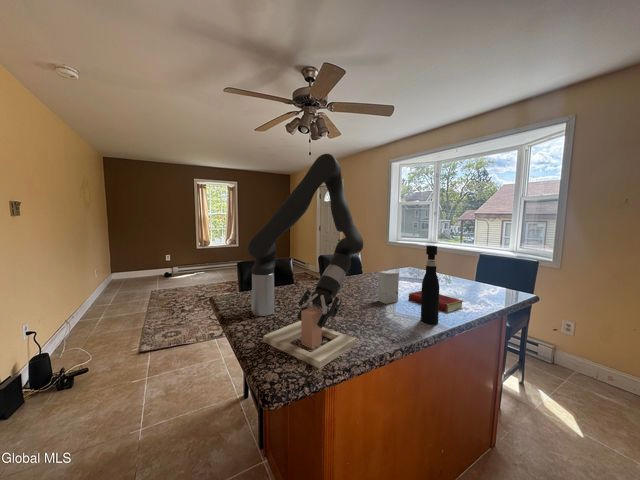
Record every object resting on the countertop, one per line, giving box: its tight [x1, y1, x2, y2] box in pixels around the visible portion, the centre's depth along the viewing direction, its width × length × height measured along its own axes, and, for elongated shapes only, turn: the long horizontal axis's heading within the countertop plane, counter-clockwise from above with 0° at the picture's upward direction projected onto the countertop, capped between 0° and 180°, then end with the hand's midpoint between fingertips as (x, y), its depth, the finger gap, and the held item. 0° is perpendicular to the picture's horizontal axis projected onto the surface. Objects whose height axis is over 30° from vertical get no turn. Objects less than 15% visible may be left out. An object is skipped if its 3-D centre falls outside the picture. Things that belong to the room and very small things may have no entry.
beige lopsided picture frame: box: [263, 320, 357, 370], centre depth 83 cm, size 24×18×2 cm
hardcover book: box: [408, 290, 464, 314], centre depth 124 cm, size 12×21×4 cm, turn 30°
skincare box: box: [377, 270, 400, 305], centre depth 127 cm, size 8×6×15 cm
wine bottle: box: [420, 245, 440, 326], centre depth 101 cm, size 6×6×30 cm
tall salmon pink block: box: [300, 307, 323, 350], centre depth 83 cm, size 5×5×11 cm
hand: (308, 323), depth 81 cm, fingers open, 8 cm apart
